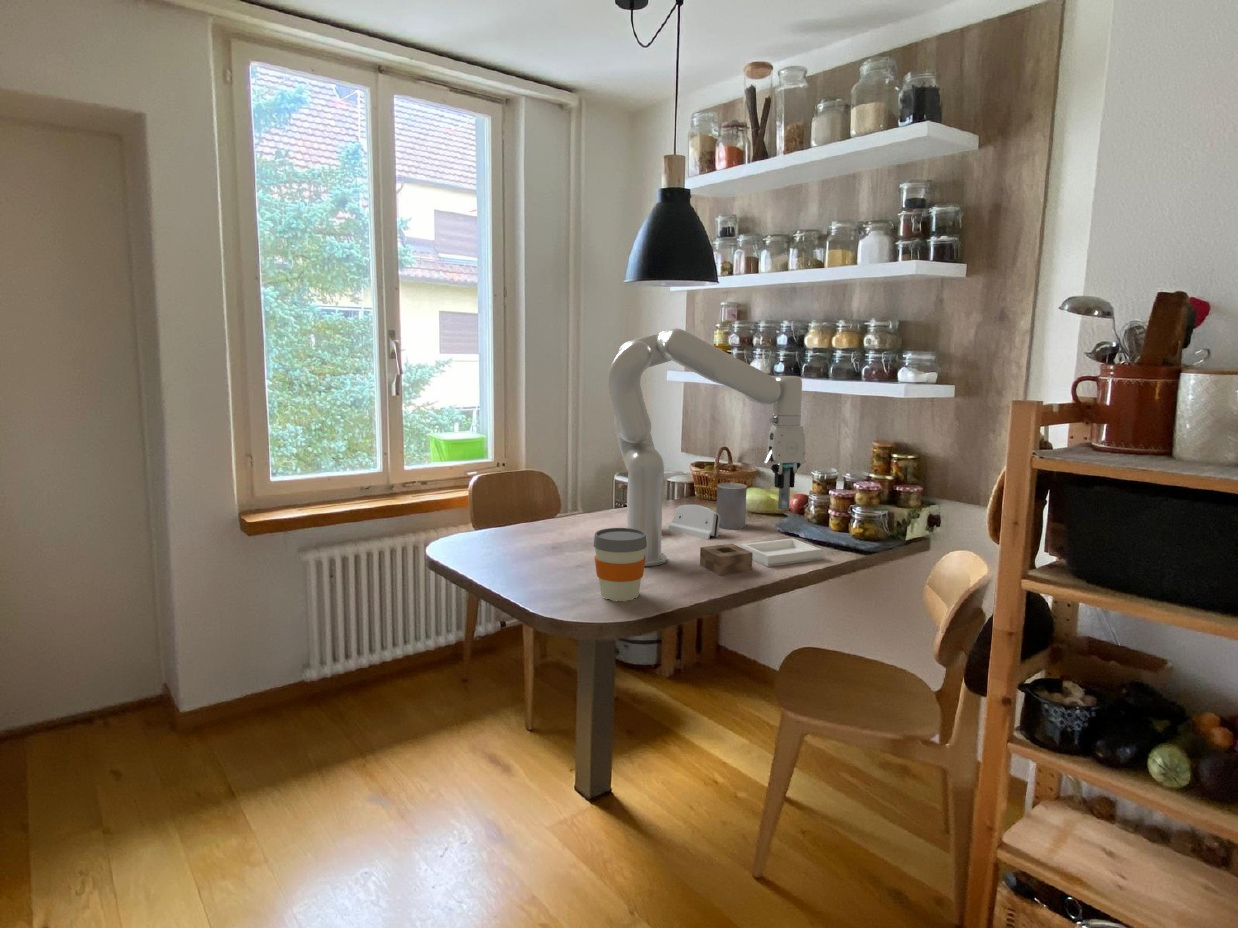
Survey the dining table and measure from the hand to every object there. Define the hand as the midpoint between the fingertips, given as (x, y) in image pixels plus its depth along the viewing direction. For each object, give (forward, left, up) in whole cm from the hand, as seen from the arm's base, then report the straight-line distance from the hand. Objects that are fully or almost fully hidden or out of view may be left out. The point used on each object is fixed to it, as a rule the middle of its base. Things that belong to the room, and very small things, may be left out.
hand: (784, 486), depth 207 cm
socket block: (-20, -3, -20) cm, 29 cm away
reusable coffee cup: (-55, -12, -20) cm, 60 cm away
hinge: (-9, +34, -21) cm, 41 cm away
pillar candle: (+7, +37, -20) cm, 43 cm away
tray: (0, 0, -20) cm, 20 cm away
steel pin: (0, 0, -6) cm, 6 cm away
